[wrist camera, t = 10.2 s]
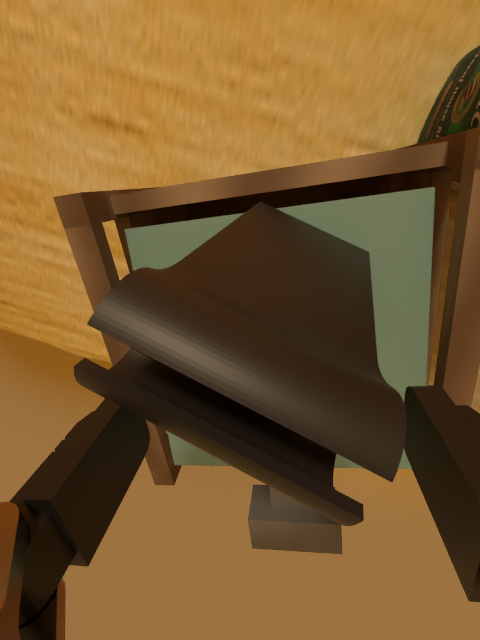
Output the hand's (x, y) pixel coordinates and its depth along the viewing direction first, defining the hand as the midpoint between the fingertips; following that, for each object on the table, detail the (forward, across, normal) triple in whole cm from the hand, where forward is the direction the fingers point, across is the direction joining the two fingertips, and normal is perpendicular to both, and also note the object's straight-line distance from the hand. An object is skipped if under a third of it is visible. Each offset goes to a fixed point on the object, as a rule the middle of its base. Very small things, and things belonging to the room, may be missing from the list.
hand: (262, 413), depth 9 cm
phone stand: (+9, 0, 0) cm, 9 cm away
